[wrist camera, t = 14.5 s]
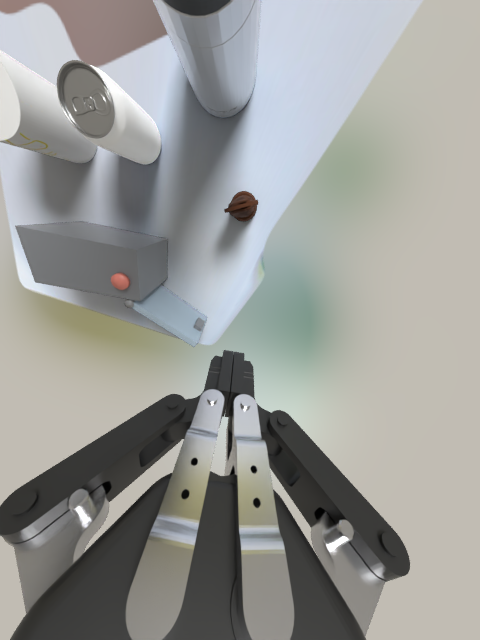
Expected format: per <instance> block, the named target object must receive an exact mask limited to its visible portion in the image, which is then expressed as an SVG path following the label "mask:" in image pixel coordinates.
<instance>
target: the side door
mask: <svg viewBox="0 0 480 640" xmlns="http://www.w3.org/2000/svg"><path fill="white" fill-rule="evenodd" d="M124 304H125V306H126V307H127V308H132V309H134V310H135V311H137V312H139V313H140V314H142V315H143V316H145V317H146V318H148V319H150V320H151V321H153V322H154V323H156V324H158V325H159V326H161V327H162V328H164V329H166V330H167V331H169V332H170V333H172V334H174V335H175V336H177V337H178V338H180V339H182V340H183V341H185V342H186V343H188V344H190V345H191V346H193V347H195V346H196V345H197V344H198V341H199V339H200V336H201V333H202V330H203V328H204V325H205V322H206V320H207V316H205V315H204V314H202V313H201V312H199V311H198V310H197V309H195V308H194V307H192V306H191V305H189V304H188V303H187V302H185V301H184V300H182V299H181V298H179V297H178V296H177V295H175V294H174V293H172V292H171V291H169V290H168V289H167V288H165V287H164V286H162V285H161V284H160V285H159V286H158V287H157V288H155V289H154V290H153V291H152V292H151V293H150V294H148V295H147V296H146V297H145V298H144V299H143V300H141V301H136V300H130V299H127V300H126V301H125V302H124Z"/></svg>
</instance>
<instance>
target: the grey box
mask: <svg viewBox="0 0 480 640" xmlns="http://www.w3.org/2000/svg"><path fill="white" fill-rule="evenodd" d="M15 227H16V229H17V232H18V235H19V238H20V241H21V244H22V246H23V249H24V252H25V255H26V258H27V260H28V263H29V266H30V269H31V272H32V275H33V277H34V280H35V282H37V283H42V284H48V285H53V286H59V287H64V288H70V289H75V290H81V291H86V292H92V293H97V294H103V295H108V296H114V297H119V298H125V299H130V300H136V301H141V300H143V299H144V298H145V297H146V296H147V295H148V294H150V293H151V292H152V291H153V290H154V289H155V288H157V287H158V286H159V285H160V284H161V283H162V282H164V281H165V280H166V279H167V239H166V238H161V237H156V236H151V235H146V234H141V233H137V232H132V231H127V230H122V229H117V228H112V227H107V226H102V225H97V224H92V223H88V222H83V221H80V222H65V223H49V224H34V225H19V226H15Z"/></svg>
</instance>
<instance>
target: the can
mask: <svg viewBox="0 0 480 640" xmlns="http://www.w3.org/2000/svg"><path fill="white" fill-rule="evenodd" d="M57 93H58V98H59V102H60V105H61V107H62V110H63V112H64V114H65V115H66V117H67V119H68V120H69V121H70V123H71V124H72V125H73V126H74V127H75V128H76V129H77V130H78V131H79V132H80V133H82V135H83V136H84V137H85V138H87V139H88V140H89V141H91V142H92V143H94V144H95V145H97V146H100V147H102V148H104V149H106V150H108V151H111V152H113V153H115V154H118V155H120V156H122V157H125V158H127V159H129V160H132V161H134V162H137V163H139V164H144V165H147V164H151V163H153V162H154V161H155V160H156V159H157V157H158V156H159V153H160V150H161V137H160V133H159V130H158V128H157V126H156V124H155V122H154V121H153V119H152V118H151V117H150V116H149V115H148V114H147V113H146V112H145V111H144V110H143V109H142V108H141V107H140V106H139V105H138V104H137V103H136V102H135V101H134V100H133V99H132V98H131V97H130V96H129V95H128V94H127V93H126V92H125V91H124V90H122V89H121V88H120V87H119V86H118V85H117V84H116V83H115V82H114V81H113V80H112V79H111V78H110V77H109V76H108V75H106V74H105V73H104V72H103V71H101V70H100V69H98V68H96V67H94V66H91V65H88V64H87V63H85V62H82V61H78V60H72V61H69V62H67V63H65V64H64V65H63V66H62V67H61V69H60V71H59V74H58V77H57Z"/></svg>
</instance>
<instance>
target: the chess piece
mask: <svg viewBox="0 0 480 640" xmlns="http://www.w3.org/2000/svg"><path fill="white" fill-rule="evenodd" d="M257 205H258V201H257V200H255V198H254V196H253V195H252V194H251V193H249V192H246V191H241V192H239V193H237V194H236V195H235V196H234V197H233V199H232V201H231V203H230V204H229V207H228V208H227V209H224V211H225V213H226V212H230V214H231V215H232V216H234V217H235V218H236V219H237V220H239V221H243V222H244V221H248V220H250V219H251V218H253V216H254V215H255V213H256V210H257Z"/></svg>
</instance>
